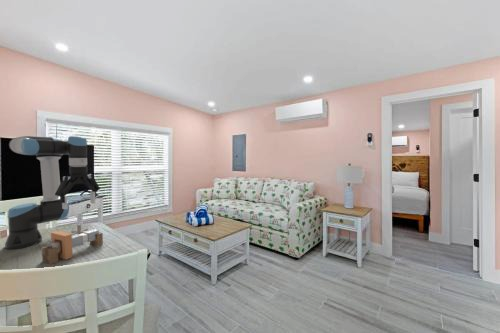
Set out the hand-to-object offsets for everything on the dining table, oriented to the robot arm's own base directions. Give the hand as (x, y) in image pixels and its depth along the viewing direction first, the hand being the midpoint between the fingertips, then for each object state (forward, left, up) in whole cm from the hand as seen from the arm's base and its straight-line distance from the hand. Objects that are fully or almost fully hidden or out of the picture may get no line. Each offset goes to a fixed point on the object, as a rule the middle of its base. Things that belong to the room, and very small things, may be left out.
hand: (79, 206), depth 113 cm
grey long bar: (-5, 0, -22) cm, 23 cm away
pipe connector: (-21, +11, -26) cm, 35 cm away
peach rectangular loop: (-5, -6, -26) cm, 27 cm away
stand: (-5, 0, -26) cm, 26 cm away
